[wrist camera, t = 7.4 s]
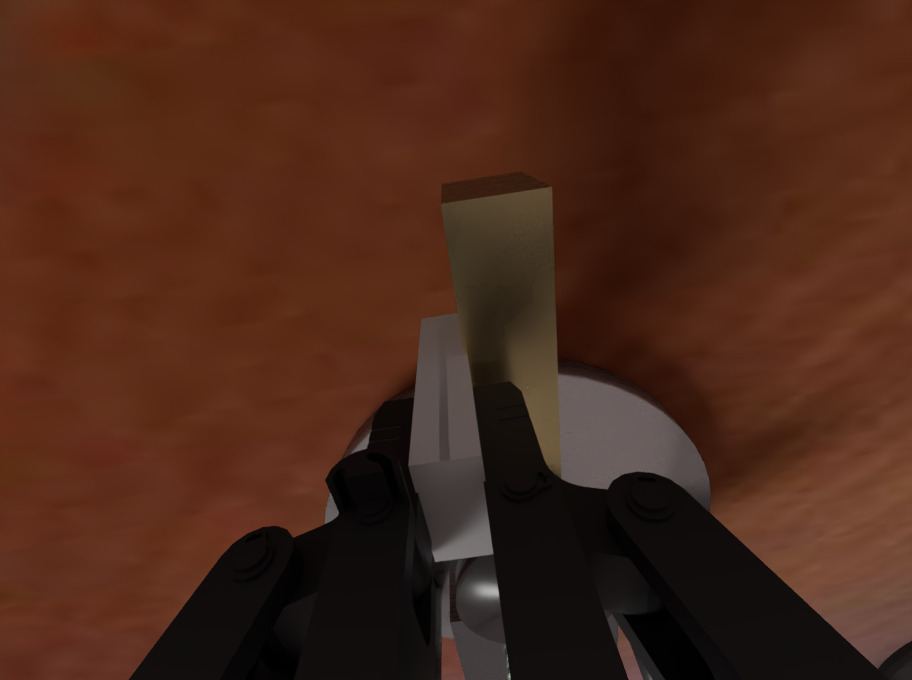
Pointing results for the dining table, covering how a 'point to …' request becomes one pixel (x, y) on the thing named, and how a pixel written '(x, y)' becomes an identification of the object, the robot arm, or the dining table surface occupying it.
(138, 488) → the dining table surface
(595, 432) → the levelling base
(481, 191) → the brass bar with knob
